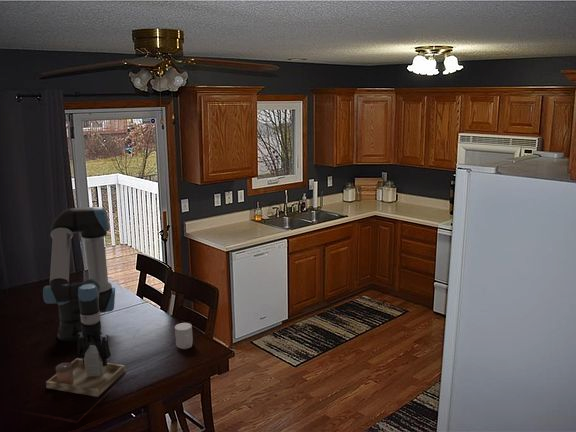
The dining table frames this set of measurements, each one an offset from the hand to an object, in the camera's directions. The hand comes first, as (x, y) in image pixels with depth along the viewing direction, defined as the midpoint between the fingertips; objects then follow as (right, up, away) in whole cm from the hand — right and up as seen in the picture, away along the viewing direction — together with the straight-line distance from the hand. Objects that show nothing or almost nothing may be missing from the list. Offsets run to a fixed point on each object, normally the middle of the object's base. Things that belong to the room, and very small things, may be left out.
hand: (95, 371), depth 226 cm
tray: (-3, -4, -2) cm, 5 cm away
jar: (-10, -4, -5) cm, 12 cm away
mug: (+32, +4, +28) cm, 43 cm away
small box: (0, 0, 0) cm, 0 cm away
